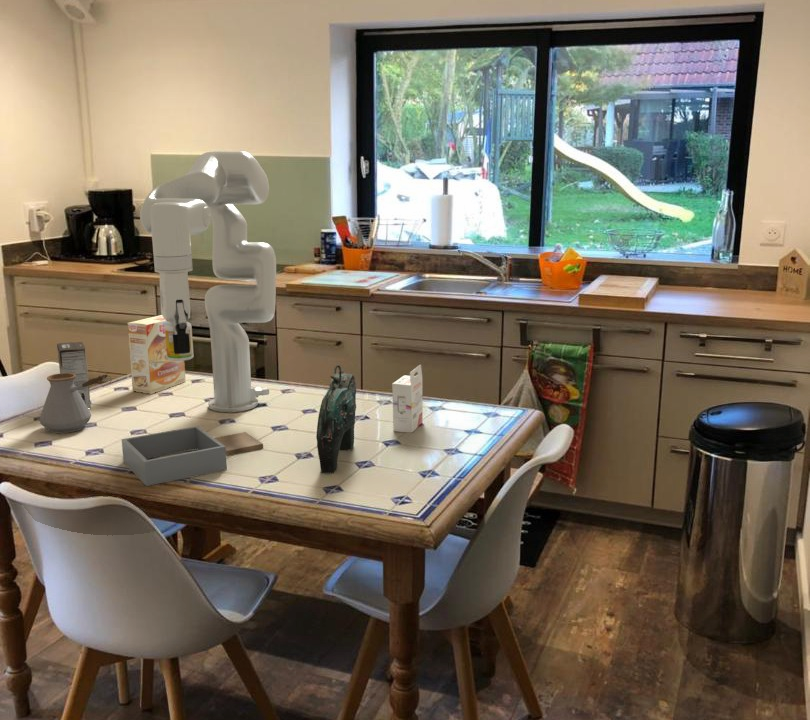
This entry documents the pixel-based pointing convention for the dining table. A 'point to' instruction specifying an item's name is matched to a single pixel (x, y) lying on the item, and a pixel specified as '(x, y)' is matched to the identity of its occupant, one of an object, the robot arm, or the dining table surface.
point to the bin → (173, 466)
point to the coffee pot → (66, 404)
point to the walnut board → (239, 443)
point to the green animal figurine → (336, 420)
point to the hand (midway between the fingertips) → (179, 348)
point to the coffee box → (75, 365)
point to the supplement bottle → (169, 343)
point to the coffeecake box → (152, 357)
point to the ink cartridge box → (407, 402)
